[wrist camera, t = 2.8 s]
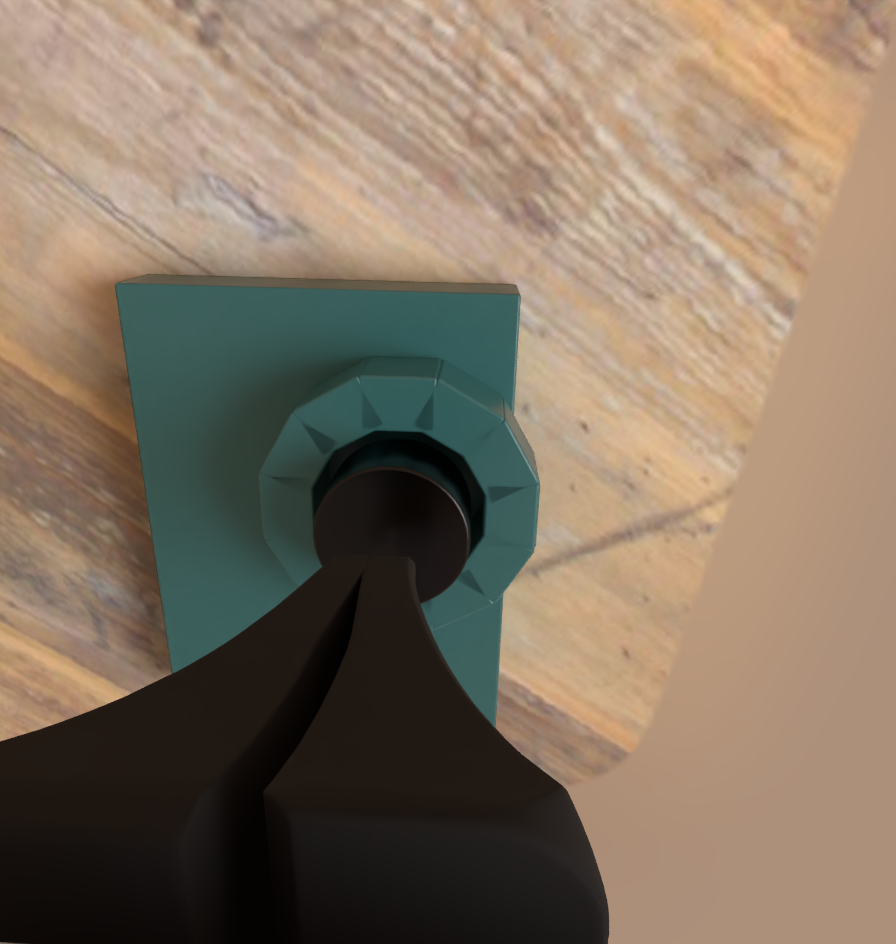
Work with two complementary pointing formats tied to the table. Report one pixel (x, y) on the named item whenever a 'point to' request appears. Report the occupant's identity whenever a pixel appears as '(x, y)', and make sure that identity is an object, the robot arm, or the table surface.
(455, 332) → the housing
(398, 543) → the button
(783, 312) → the table surface
